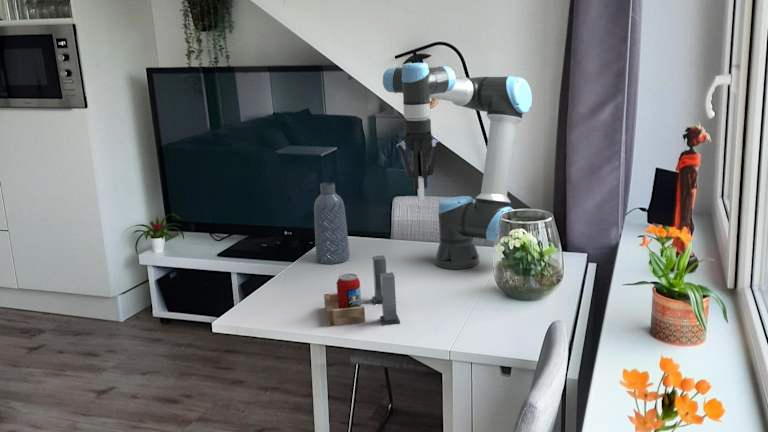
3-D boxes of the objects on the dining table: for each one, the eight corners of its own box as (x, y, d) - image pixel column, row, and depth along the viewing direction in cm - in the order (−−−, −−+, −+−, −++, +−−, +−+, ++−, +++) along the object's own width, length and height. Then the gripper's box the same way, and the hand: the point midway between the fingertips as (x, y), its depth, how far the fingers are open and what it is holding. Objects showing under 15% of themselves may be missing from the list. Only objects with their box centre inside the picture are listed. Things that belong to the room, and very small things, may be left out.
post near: (397, 317, 221) (394, 271, 217) (400, 323, 216) (397, 276, 213) (380, 318, 220) (377, 273, 217) (382, 325, 215) (379, 278, 212)
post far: (388, 297, 237) (385, 254, 233) (390, 303, 232) (388, 259, 228) (372, 299, 236) (369, 256, 233) (374, 304, 231) (371, 260, 228)
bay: (359, 304, 232) (358, 290, 231) (365, 322, 218) (364, 307, 217) (325, 308, 231) (323, 294, 230) (328, 326, 217) (327, 311, 216)
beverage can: (357, 320, 220) (355, 280, 217) (335, 318, 222) (332, 279, 219) (365, 311, 226) (362, 273, 223) (343, 310, 228) (340, 272, 225)
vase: (355, 259, 275) (350, 183, 268) (325, 267, 269) (319, 189, 262) (340, 252, 285) (334, 178, 278) (310, 258, 280) (304, 183, 272)
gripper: (436, 115, 221) (440, 194, 227) (392, 118, 219) (397, 198, 225) (442, 118, 214) (445, 200, 220) (396, 122, 212) (401, 204, 218)
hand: (421, 199), depth 223 cm, fingers closed
